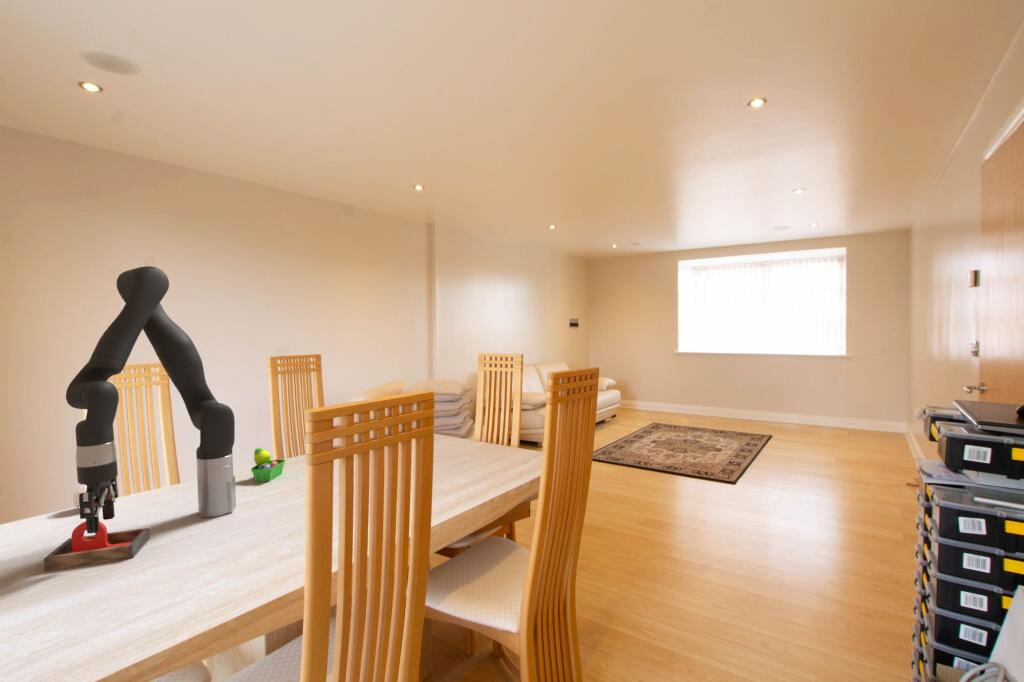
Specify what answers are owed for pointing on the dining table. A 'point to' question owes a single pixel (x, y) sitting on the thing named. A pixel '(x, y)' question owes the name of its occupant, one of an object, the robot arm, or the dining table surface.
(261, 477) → the fruit basket
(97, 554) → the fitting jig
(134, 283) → the robot arm
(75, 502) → the geometric ball
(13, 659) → the dining table surface
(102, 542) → the bracket
